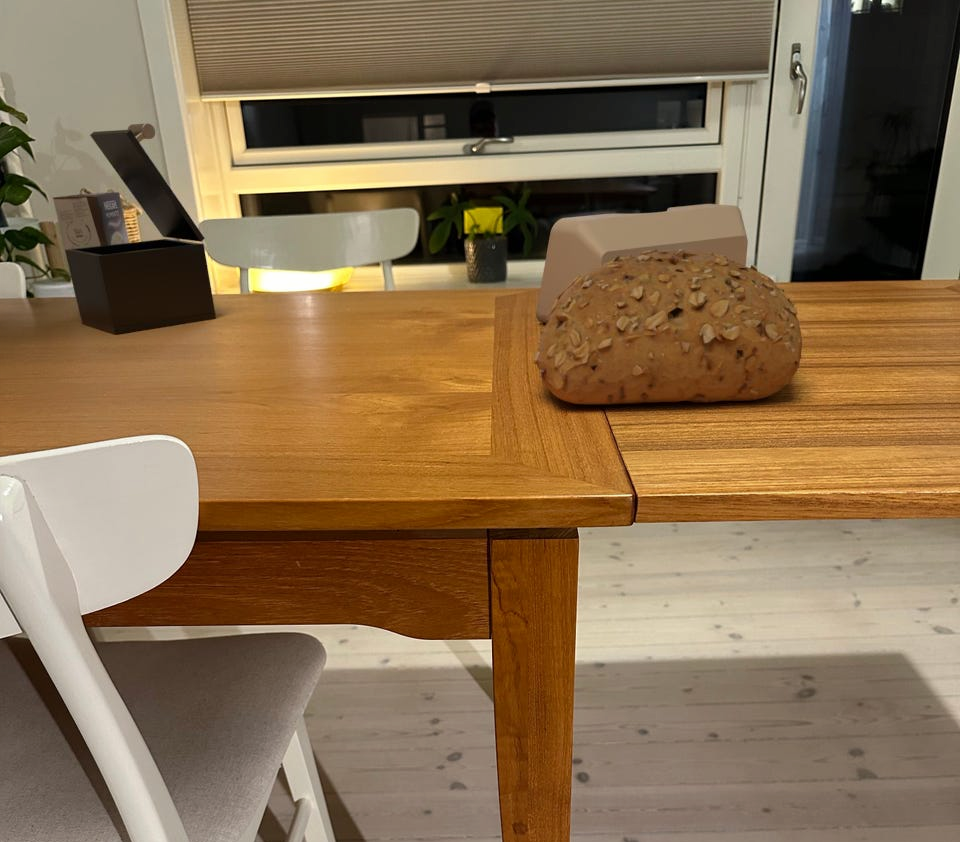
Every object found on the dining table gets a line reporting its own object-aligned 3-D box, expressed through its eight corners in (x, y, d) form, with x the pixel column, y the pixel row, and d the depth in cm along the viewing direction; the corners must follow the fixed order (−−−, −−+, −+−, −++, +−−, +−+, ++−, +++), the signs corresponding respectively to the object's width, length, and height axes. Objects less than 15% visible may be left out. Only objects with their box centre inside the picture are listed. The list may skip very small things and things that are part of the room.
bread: (756, 354, 101) (767, 232, 95) (819, 407, 82) (838, 259, 77) (526, 364, 101) (524, 242, 96) (537, 418, 83) (535, 272, 77)
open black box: (115, 334, 127) (98, 255, 122) (82, 323, 135) (64, 249, 131) (216, 318, 135) (203, 243, 130) (178, 309, 143) (165, 238, 139)
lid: (125, 132, 119) (154, 109, 120) (89, 134, 128) (117, 113, 129) (201, 242, 130) (227, 219, 131) (162, 237, 138) (187, 216, 140)
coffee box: (121, 315, 140) (95, 195, 133) (78, 317, 141) (50, 197, 133) (143, 304, 148) (119, 191, 141) (102, 306, 149) (77, 193, 141)
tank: (607, 344, 109) (610, 225, 103) (533, 323, 121) (532, 216, 115) (771, 316, 119) (783, 207, 113) (688, 300, 131) (694, 201, 125)
